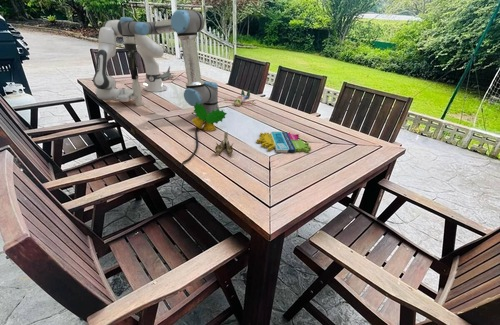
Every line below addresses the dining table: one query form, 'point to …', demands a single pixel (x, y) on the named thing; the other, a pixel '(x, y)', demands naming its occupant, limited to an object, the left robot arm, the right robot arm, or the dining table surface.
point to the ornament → (207, 117)
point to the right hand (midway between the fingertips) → (135, 78)
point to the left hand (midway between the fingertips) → (138, 96)
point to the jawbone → (224, 145)
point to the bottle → (137, 92)
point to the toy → (241, 99)
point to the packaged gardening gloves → (283, 142)
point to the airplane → (166, 74)
